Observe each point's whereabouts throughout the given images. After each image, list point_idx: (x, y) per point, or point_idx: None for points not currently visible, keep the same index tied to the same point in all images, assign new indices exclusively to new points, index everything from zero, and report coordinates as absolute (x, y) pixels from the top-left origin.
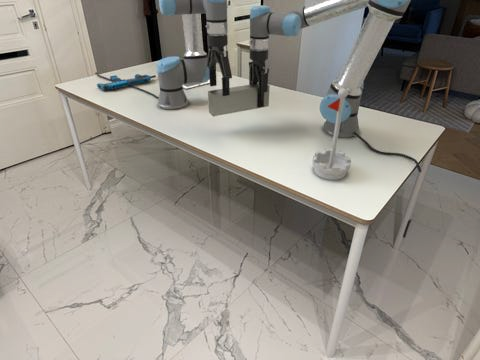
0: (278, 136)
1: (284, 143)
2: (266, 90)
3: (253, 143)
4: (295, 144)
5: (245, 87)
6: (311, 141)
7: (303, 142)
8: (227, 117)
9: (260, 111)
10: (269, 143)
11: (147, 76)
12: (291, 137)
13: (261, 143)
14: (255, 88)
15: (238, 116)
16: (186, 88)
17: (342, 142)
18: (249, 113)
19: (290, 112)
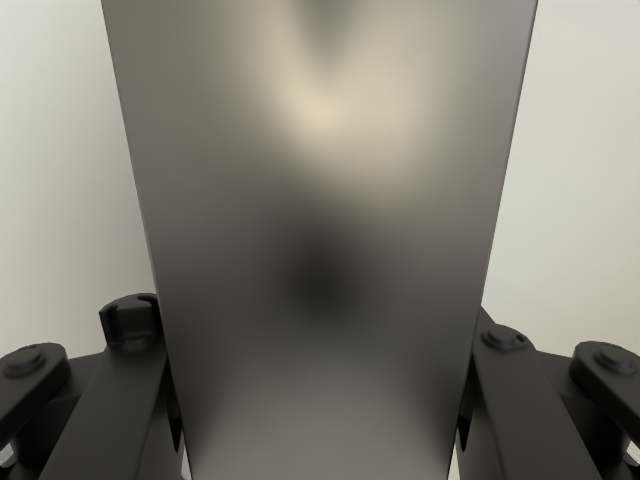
0: (137, 242)
1: (38, 227)
2: (19, 451)
3: (75, 41)
4: (15, 273)
5: (292, 56)
6: None
7: (33, 319)
8: (577, 64)
9: (515, 319)
10: (54, 145)
11: None
12: (105, 297)
13: (64, 96)
14: (168, 318)
15: (538, 154)
16: None
17: (4, 452)
18: (533, 247)
19: None
